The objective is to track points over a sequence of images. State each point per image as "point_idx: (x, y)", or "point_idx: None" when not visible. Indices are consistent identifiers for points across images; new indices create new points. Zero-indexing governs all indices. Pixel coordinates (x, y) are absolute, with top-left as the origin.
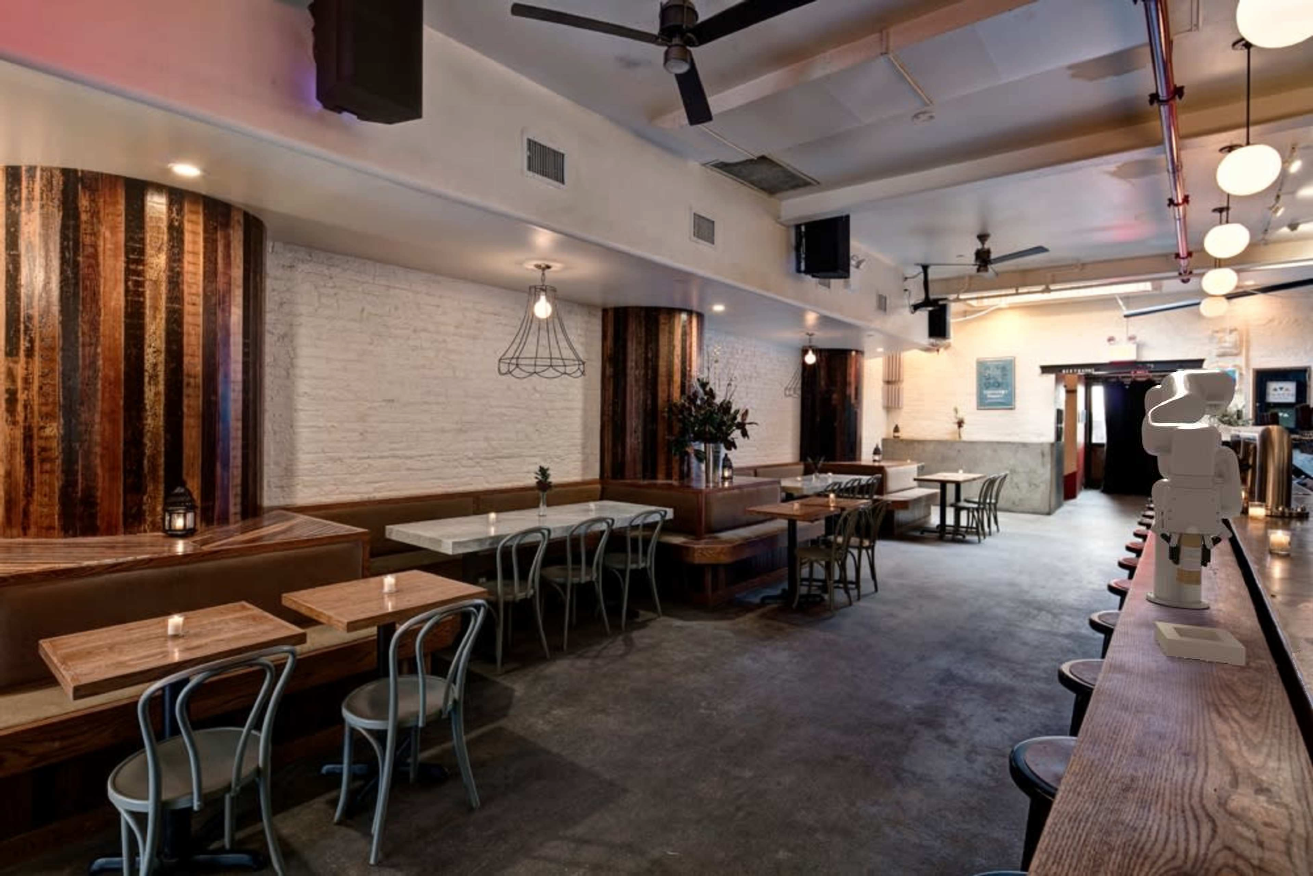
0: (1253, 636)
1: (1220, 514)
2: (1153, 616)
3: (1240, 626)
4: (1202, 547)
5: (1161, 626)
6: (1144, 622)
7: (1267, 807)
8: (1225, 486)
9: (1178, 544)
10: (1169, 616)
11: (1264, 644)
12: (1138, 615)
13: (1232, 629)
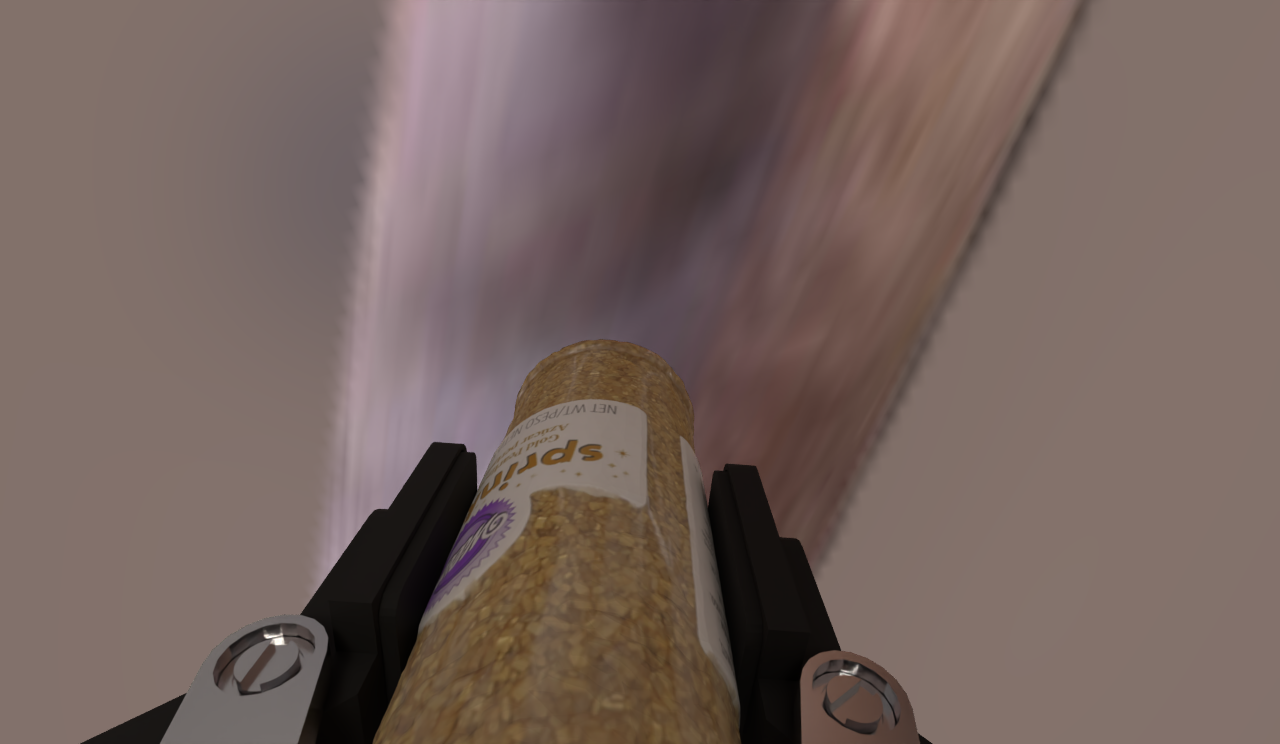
0: (893, 314)
1: None
2: (506, 82)
3: (929, 125)
4: (752, 694)
5: None
6: (437, 251)
7: None
8: None
9: None
10: (600, 38)
11: (873, 428)
12: (424, 94)
13: (852, 214)
